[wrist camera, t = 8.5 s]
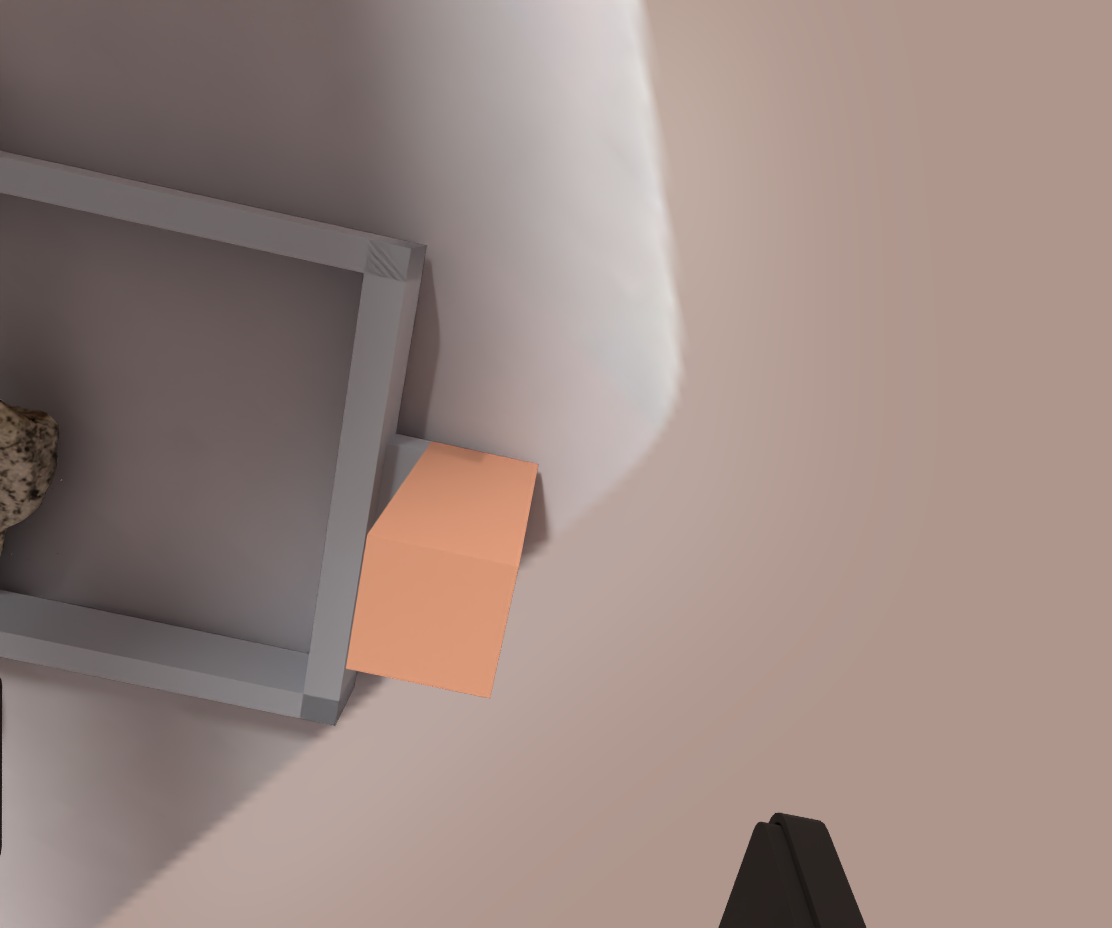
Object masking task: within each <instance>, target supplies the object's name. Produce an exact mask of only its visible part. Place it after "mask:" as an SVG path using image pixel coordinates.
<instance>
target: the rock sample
mask: <svg viewBox="0 0 1112 928" xmlns="http://www.w3.org/2000/svg"><path fill="white" fill-rule="evenodd" d="M58 438H59V427H58V424H57V423H56V422H55V421H54V419H53V418H52V417H51V416H50V415H49V414H47V413H45V412H43V411H40V410H29V409H23V408H20V407H16V406H11V405H8V404H6V403H5V402H3V401H2V400H0V556H1V553H2V549H3V546H4V537H5V533H6V530H7V528H8V527H10V526H12V525H15V524H17V523H19V522H22V521H23V520H24V519H26V518H27V517H28V516H30V515H31V514H32V513H33V512H34V511H35V510H36V509H38V508H39V507H40V504H41V502H42V500H43V497H44V498H45V492H46V490H47V489H48V487H49V485H50V484H51V482H52V479H53V477H54V474H55V470H56V466H57V457H58V456H57V442H56V441H57V439H58ZM60 481H63V479H61V480H60ZM52 489H53V488H52ZM57 554H58V553H57ZM11 555H12V553H11ZM74 621H75V620H74ZM68 626H69V625H68Z"/></svg>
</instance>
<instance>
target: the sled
mask: <svg viewBox="0 0 1112 928" xmlns="http://www.w3.org/2000/svg"><path fill="white" fill-rule="evenodd" d="M0 193H4V194H9V195H13V196H18V197H22V198H27V199H31V200H36V201H40V202H45V203H49V204H54V205H58V206H63V207H67V208H72V209H76V210H81V211H85V212H90V213H94V214H99V215H103V216H108V217H112V218H117V219H121V220H126V221H130V222H135V223H139V224H144V225H148V226H153V227H157V228H162V229H167V230H171V231H176V232H180V233H185V234H189V235H194V236H198V237H203V238H207V239H212V240H216V241H221V242H225V243H230V244H234V245H239V246H243V247H248V248H252V249H257V250H261V251H266V252H270V253H275V254H279V255H284V256H288V257H293V258H297V259H302V260H306V261H311V262H315V263H320V264H324V265H329V266H334V267H338V268H343V269H347V270H352V271H356V272H361V273H364V276H363V283H362V290H361V297H360V304H359V311H358V318H357V325H356V332H355V339H354V346H353V353H352V360H351V367H350V374H349V380H348V387H347V394H346V401H345V408H344V415H343V422H342V429H341V436H340V443H339V450H338V457H337V464H336V471H335V477H334V484H333V491H332V498H331V505H330V512H329V519H328V526H327V533H326V540H325V547H324V554H323V561H322V568H321V575H320V581H319V588H318V595H317V602H316V609H315V616H314V623H313V630H312V637H311V644H310V651H309V654H308V653H303V652H298V651H293V650H288V649H284V648H279V647H274V646H269V645H264V644H260V643H255V642H250V641H245V640H240V639H236V638H231V637H226V636H221V635H216V634H212V633H207V632H202V631H197V630H192V629H187V628H183V627H178V626H173V625H168V624H163V623H159V622H154V621H149V620H144V619H139V618H135V617H130V616H125V615H120V614H115V613H111V612H106V611H101V610H96V609H91V608H87V607H82V606H77V605H72V604H67V603H63V602H58V601H53V600H48V599H43V598H38V597H34V596H29V595H24V594H19V593H14V592H10V591H5V590H0V657H3V658H8V659H13V660H18V661H23V662H27V663H32V664H37V665H42V666H47V667H52V668H57V669H61V670H66V671H71V672H76V673H81V674H86V675H91V676H95V677H100V678H105V679H110V680H115V681H120V682H125V683H129V684H134V685H139V686H144V687H149V688H154V689H159V690H163V691H168V692H173V693H178V694H183V695H188V696H193V697H197V698H202V699H207V700H212V701H217V702H222V703H227V704H232V705H236V706H241V707H246V708H251V709H256V710H261V711H266V712H270V713H275V714H280V715H285V716H290V717H295V718H300V719H304V720H309V721H314V722H319V723H324V724H329V725H334V726H335V725H336V723H337V721H338V719H339V717H340V715H341V713H342V711H343V709H344V707H345V705H346V703H347V701H348V699H349V697H350V694H351V692H352V690H353V688H354V685H355V679H356V673H357V671H360V672H365V673H370V674H374V675H379V676H384V677H389V678H394V679H399V680H404V681H408V682H413V683H418V684H423V685H427V686H432V687H438V688H442V689H447V690H452V691H456V692H462V693H466V694H471V695H476V696H481V697H485V698H490V696H491V691H492V687H493V682H494V678H495V673H496V669H497V664H498V660H499V655H500V651H501V646H502V641H503V637H504V632H505V627H506V623H507V618H508V614H509V609H510V605H511V600H512V596H513V591H514V587H515V582H516V578H517V573H518V569H519V564H520V558H521V553H522V548H523V543H524V537H525V532H526V527H527V522H528V516H529V511H530V506H531V501H532V496H533V490H534V485H535V480H536V475H537V469H538V464H535V463H530V462H526V461H521V460H516V459H512V458H507V457H502V456H498V455H493V454H489V453H484V452H479V451H475V450H470V449H465V448H461V447H456V446H452V445H447V444H442V443H438V442H433V441H428V440H424V439H419V438H415V437H410V436H405V435H401V434H396V430H397V424H398V418H399V411H400V405H401V399H402V393H403V387H404V381H405V375H406V369H407V363H408V357H409V351H410V345H411V338H412V332H413V326H414V320H415V314H416V308H417V302H418V296H419V290H420V284H421V278H422V271H423V265H424V259H425V253H426V247H427V246H426V245H422V244H417V243H413V242H408V241H404V240H399V239H395V238H391V237H386V236H382V235H377V234H373V233H368V232H364V231H359V230H355V229H350V228H346V227H341V226H337V225H332V224H328V223H323V222H319V221H314V220H310V219H305V218H301V217H296V216H292V215H287V214H283V213H278V212H274V211H269V210H265V209H260V208H256V207H252V206H247V205H243V204H238V203H234V202H229V201H225V200H220V199H216V198H211V197H207V196H202V195H198V194H193V193H189V192H184V191H180V190H175V189H171V188H166V187H162V186H157V185H153V184H148V183H144V182H139V181H135V180H130V179H126V178H121V177H117V176H113V175H108V174H104V173H99V172H95V171H90V170H86V169H81V168H77V167H72V166H68V165H63V164H59V163H54V162H50V161H45V160H41V159H36V158H32V157H27V156H23V155H18V154H14V153H9V152H5V151H0ZM74 620H75V621H74ZM68 625H69V626H68Z"/></svg>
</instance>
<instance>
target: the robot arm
mask: <svg viewBox="0 0 1112 928" xmlns="http://www.w3.org/2000/svg"><path fill="white" fill-rule="evenodd" d="M1 848H2V681H1V678H0V855H1ZM719 928H866V925H865V923H864V921H863V918H862V915H861V913H860V910H859V908H858V905H857V903H856V900H855V898H854V895H853V893H852V890H851V888H850V885H849V883H848V880H847V878H846V875H845V872H844V870H843V868H842V865H841V862H840V860H839V857H838V855H837V852H836V850H835V847H834V845H833V842H832V840H831V837H830V834H829V832H828V830H827V828H826V826H825V824H824V823H823V822H821V821H819V820H814V819H809V818H804V817H799V816H794V815H788V814H783V813H775V814H774V815H773V816H772V817H771V819H770V821H769V823H765V822H759V823H757V825H756V826H755V828H754V830H753V833H752V836H751V839H750V841H749V844H748V847H747V850H746V853H745V855H744V858H743V861H742V864H741V867H740V869H739V872H738V875H737V878H736V880H735V883H734V886H733V889H732V892H731V894H730V897H729V900H728V903H727V906H726V908H725V911H724V914H723V917H722V920H721V922H720V925H719Z"/></svg>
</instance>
